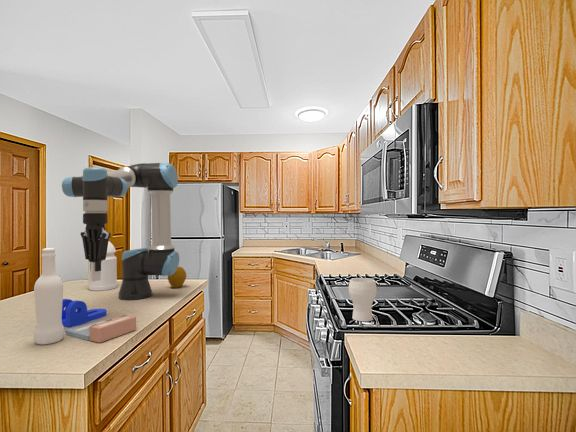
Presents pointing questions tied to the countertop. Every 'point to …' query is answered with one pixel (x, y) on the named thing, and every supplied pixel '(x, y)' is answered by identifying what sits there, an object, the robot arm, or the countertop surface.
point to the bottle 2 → (105, 272)
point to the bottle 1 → (48, 302)
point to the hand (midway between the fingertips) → (95, 280)
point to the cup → (362, 297)
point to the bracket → (79, 313)
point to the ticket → (82, 330)
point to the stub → (112, 328)
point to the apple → (177, 278)
